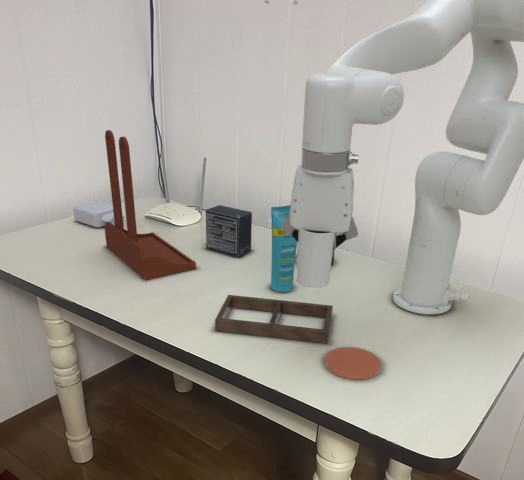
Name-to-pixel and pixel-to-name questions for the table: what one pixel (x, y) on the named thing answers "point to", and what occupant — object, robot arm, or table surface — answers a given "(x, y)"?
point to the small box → (228, 230)
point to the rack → (274, 319)
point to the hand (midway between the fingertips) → (316, 267)
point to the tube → (282, 251)
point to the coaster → (353, 363)
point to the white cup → (314, 258)
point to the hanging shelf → (128, 241)
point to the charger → (94, 213)
